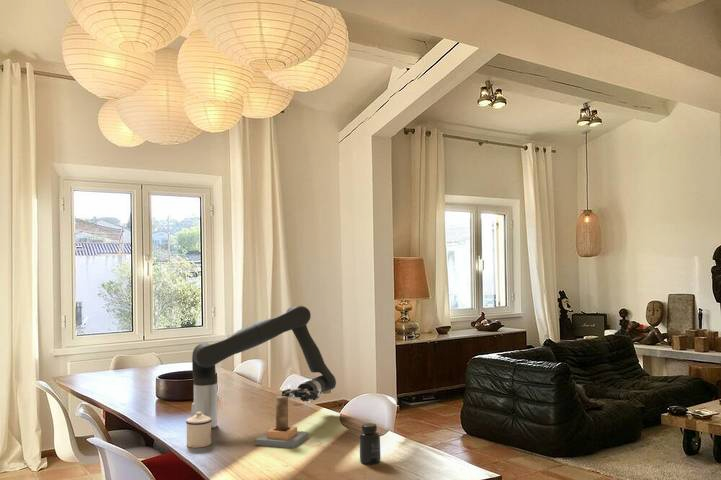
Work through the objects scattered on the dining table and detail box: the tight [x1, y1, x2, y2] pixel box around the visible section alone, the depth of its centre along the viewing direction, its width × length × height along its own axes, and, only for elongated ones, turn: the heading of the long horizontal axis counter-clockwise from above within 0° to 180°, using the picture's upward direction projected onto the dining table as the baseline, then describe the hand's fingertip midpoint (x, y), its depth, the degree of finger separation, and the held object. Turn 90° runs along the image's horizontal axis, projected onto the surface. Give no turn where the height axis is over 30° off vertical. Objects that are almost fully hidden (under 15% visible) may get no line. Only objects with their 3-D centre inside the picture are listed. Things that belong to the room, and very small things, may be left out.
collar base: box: [254, 425, 309, 449], centre depth 227 cm, size 15×14×4 cm
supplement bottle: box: [358, 422, 382, 466], centre depth 202 cm, size 7×7×12 cm
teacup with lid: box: [185, 412, 212, 449], centre depth 225 cm, size 12×9×12 cm
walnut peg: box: [275, 395, 289, 431], centre depth 227 cm, size 4×4×14 cm
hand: (293, 398), depth 238 cm, fingers open, 8 cm apart
